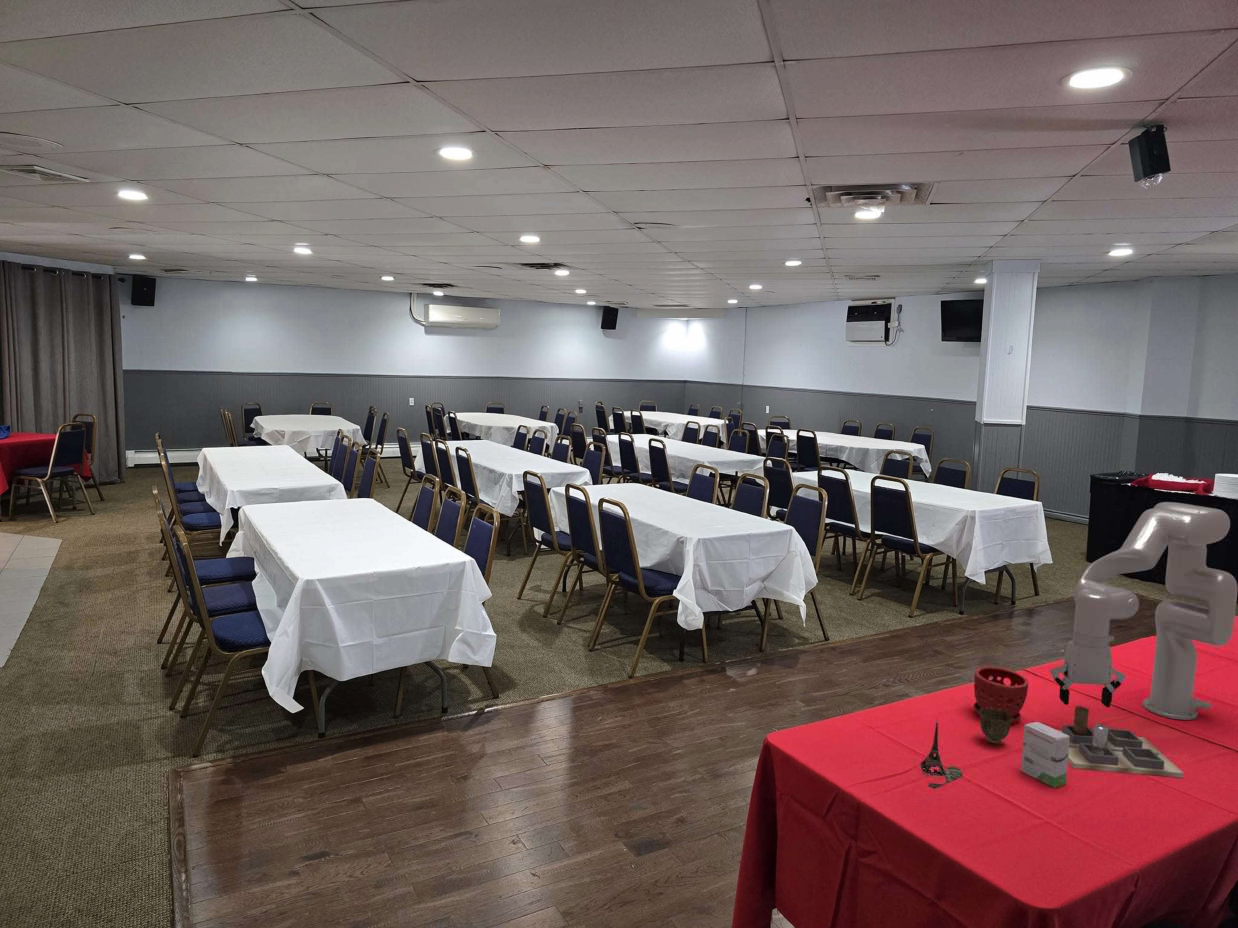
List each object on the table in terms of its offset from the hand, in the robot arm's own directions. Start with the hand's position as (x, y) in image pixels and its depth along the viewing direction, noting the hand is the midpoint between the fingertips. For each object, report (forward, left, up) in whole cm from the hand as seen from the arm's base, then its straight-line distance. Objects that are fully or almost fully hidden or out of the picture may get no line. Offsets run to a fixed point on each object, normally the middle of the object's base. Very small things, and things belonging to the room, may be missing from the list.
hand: (1084, 703), depth 198 cm
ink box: (+16, +20, -11) cm, 28 cm away
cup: (+22, +4, -11) cm, 25 cm away
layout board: (-5, +5, -10) cm, 13 cm away
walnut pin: (+1, 0, -9) cm, 9 cm away
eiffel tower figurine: (+41, +22, -11) cm, 48 cm away
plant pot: (+16, -12, -11) cm, 23 cm away
